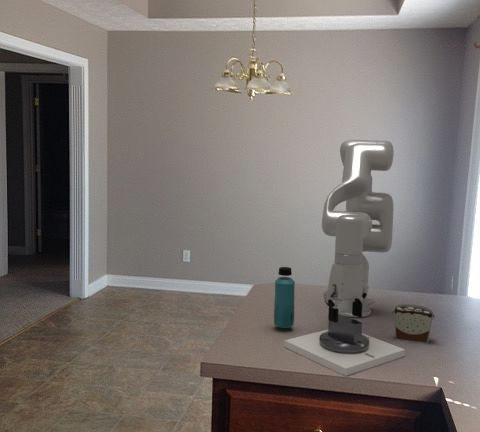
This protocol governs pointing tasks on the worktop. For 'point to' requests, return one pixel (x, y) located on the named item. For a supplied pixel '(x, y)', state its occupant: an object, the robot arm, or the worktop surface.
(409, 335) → the food container
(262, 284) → the worktop surface
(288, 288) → the beverage bottle
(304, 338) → the dial plate
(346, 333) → the dial
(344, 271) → the robot arm
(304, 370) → the worktop surface
